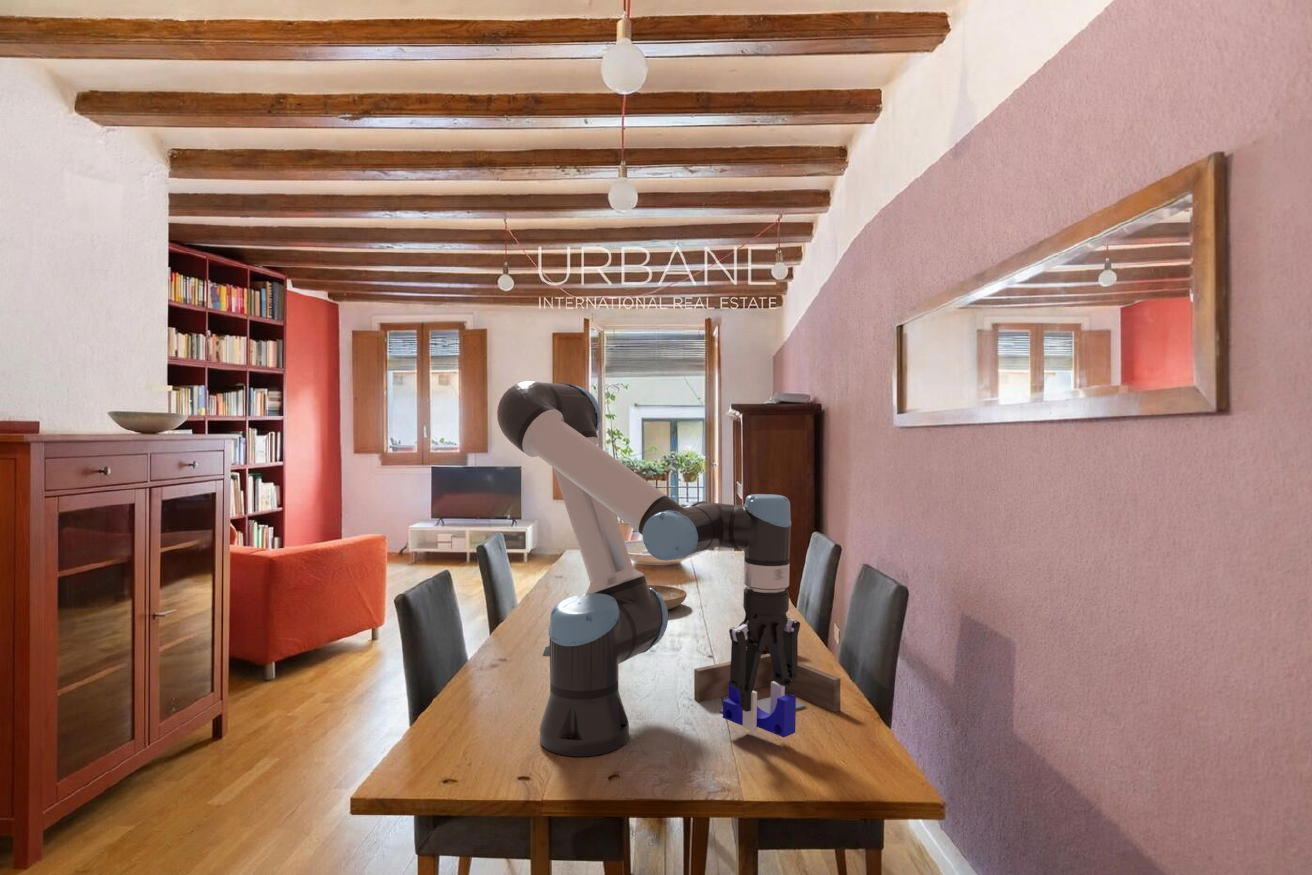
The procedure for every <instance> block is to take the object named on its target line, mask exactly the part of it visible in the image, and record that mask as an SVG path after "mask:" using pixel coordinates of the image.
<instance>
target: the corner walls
mask: <svg viewBox="0 0 1312 875" xmlns="http://www.w3.org/2000/svg"><path fill="white" fill-rule="evenodd" d="M693 670H694V671H693V673H694V674H693V676H694V677H693V678H694V679H693V680H694V681H693V682H694V683H693V684H694V685H693V687H694V688H693V689H694V693H693V694H694V698H693V700H694V701H696V702H697V703H701V702H704V701H705V702H706V701H709V700H713V699H718V698H722V697H726V696H729V681H730V671H731V660H730V661H727V662H726V661H725V662H721V663H717V664H712V665H706V666H702V667H697V668H694V669H693ZM773 681H775V682H777V681H776V680H775V677H774V672H773V667H772V662H771V657H770V653H769V654H768V653H766V654H761V658H760V662H759V666H758V671H757V675H756V680H755V684H754V689H753V690H755V689H759V688H764V687H768V686H771V682H773ZM791 681H792V685H791V686H787V693H788V692H789V694H792V695H794V696H796V697H799V698H802V699H804V700H806V701H809V702H811V703H812V704H815V705H817V706H819V707H822V708H824V709H827V710H828V711H831V712H833V713H837V712H841V678H840V677H838V676H835V675H833V674H830V673H827V672H825V671H822V670H819V669H817V668H814V667H812V666H809V665H806V664H804V663H801V662H799V661H798V673H797V678H796V679H791Z"/></svg>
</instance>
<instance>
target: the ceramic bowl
mask: <svg viewBox="0 0 1312 875" xmlns="http://www.w3.org/2000/svg"><path fill="white" fill-rule="evenodd" d="M647 585H648V587H651V588H653V589H654V591H656V592H658V593H659V594H660V595H661V596H662V598H663V599H664V601H665V604H666V607H667V611H669V610H671V609H674V608H676V607H678V606H679V605H682V603H683V602H685V600H686V598H687V596H688V594H687V591H685V590H684V589H681V588H679V587H673V586H670V585H662V584H647Z"/></svg>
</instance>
